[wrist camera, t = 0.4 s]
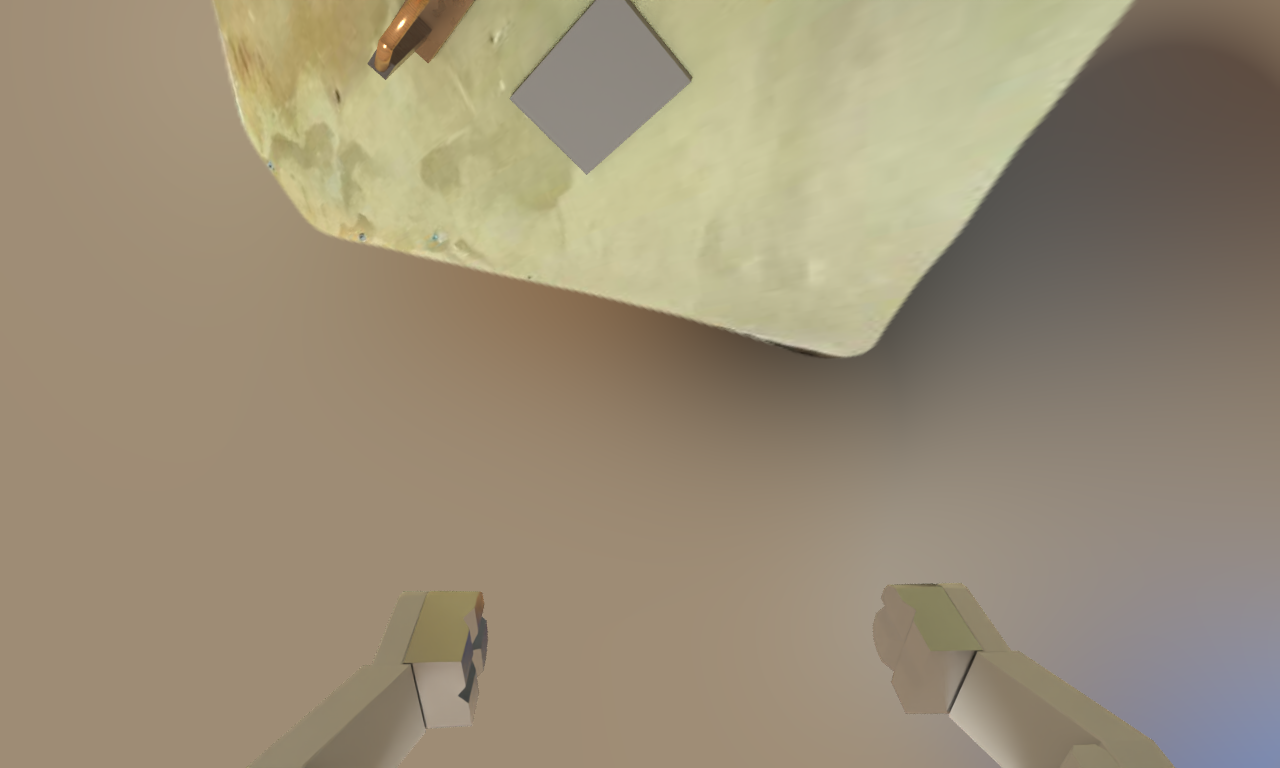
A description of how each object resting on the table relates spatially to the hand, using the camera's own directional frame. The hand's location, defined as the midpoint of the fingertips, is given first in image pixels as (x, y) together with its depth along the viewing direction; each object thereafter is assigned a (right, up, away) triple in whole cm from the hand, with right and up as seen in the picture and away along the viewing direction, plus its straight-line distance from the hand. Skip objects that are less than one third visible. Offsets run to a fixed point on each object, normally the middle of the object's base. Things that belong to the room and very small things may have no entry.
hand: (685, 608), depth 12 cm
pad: (-5, +32, +43) cm, 54 cm away
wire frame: (-14, +40, +36) cm, 56 cm away
